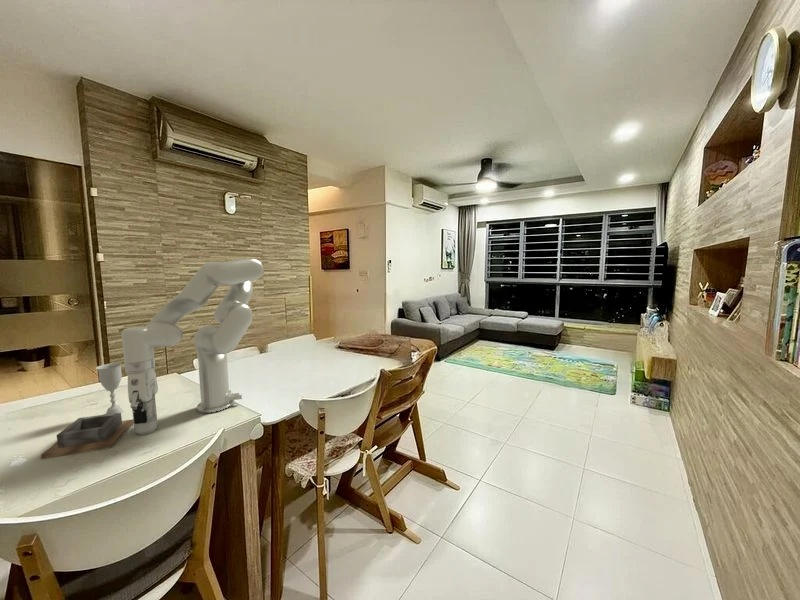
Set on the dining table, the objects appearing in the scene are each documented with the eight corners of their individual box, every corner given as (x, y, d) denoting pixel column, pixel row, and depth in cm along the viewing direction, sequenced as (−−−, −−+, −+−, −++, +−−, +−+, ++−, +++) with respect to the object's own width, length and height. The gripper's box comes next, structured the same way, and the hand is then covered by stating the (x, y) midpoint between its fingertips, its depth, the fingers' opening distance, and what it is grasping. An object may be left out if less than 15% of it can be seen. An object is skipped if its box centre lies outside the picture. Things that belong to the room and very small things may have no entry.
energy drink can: (150, 424, 109) (146, 382, 107) (162, 428, 107) (158, 385, 105) (130, 433, 103) (125, 389, 102) (142, 437, 101) (137, 392, 100)
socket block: (134, 422, 111) (133, 408, 110) (111, 447, 96) (110, 431, 95) (75, 430, 105) (73, 415, 104) (41, 458, 90) (38, 441, 90)
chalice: (111, 418, 113) (105, 369, 111) (96, 416, 115) (90, 368, 112) (132, 409, 120) (127, 363, 118) (117, 407, 122) (112, 362, 120)
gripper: (143, 372, 96) (148, 429, 98) (163, 356, 112) (167, 405, 114) (112, 375, 93) (118, 433, 95) (137, 358, 109) (142, 408, 111)
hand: (145, 417), depth 105 cm, fingers closed on energy drink can, 6 cm apart
